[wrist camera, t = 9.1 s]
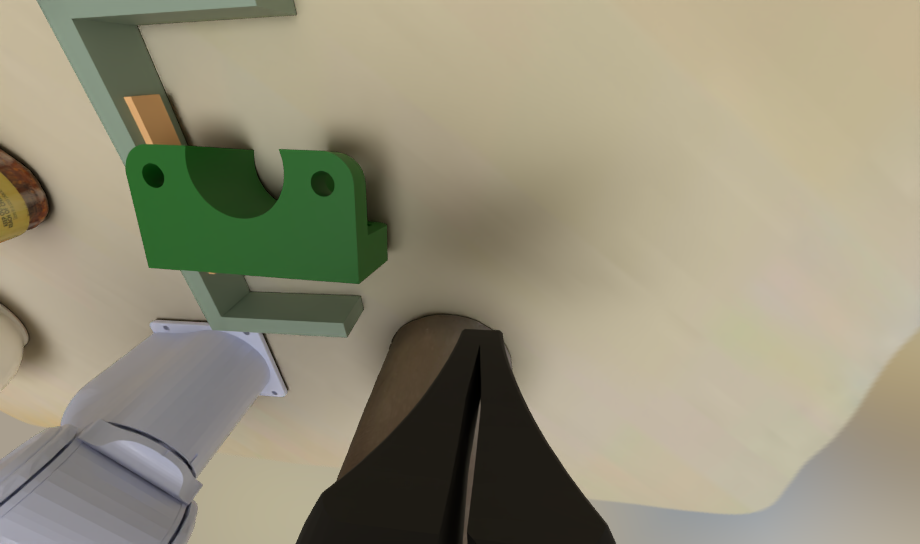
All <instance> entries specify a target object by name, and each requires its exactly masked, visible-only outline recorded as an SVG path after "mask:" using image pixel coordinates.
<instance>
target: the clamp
mask: <svg viewBox="0 0 920 544" xmlns="http://www.w3.org/2000/svg"><path fill="white" fill-rule="evenodd" d="M279 151H280V154H281V157H282V161H283V166H284V183H283V188H282V191H281V194H280V196H279V199H278V200H275V199H274V198H273V197H272V196H270V194H269V193H268V192H267V191H266V190H265V189H264V187H263V186H262V184H261V182H260V181H259V178H258V176H257V173H256V169H255V164H254V150H245V149H230V148H215V147H200V146H184V145H158V144H141V145H138V146H136V147H134V148H133V149H132V150H131V151H130V152H129V154H128V156H127V158H126V164H125V168H126V175H127V179H128V183H129V187H130V191H131V195H132V200H133V204H134V208H135V212H136V216H137V220H138V225H139V229H140V233H141V237H142V241H143V245H144V249H145V254H146V258H147V262H148V266H149V268H159V269H172V270H185V271H198V272H211V273H224V274H237V275H250V276H263V277H276V278H289V279H302V280H315V281H328V282H341V283H354V284H359V283H361V282H362V281H363V280H364V279H365V278H367V277H368V276H369V275H370V274H372V273H373V272H374V271H375V270H376V269H378V268H379V267H380V266H381V265H382V264H384V263H385V262H386V261H387V260H388V254H387V224H385V223H381V222H370V221H367V203H366V181H365V176H364V173H363V171H362V169H361V167H360V166H359V164H358V163H357V162H356V161H355V160H354V159H353V158H351V157H350V156H348V155H346V154H343V153H339V152H329V151H313V150H287V149H279Z"/></svg>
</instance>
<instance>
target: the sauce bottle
mask: <svg viewBox="0 0 920 544" xmlns="http://www.w3.org/2000/svg"><path fill="white" fill-rule="evenodd" d="M48 212H49V207H48V201H47V198H46V194H45V192H44V191H43V189H42V188H41V185H40V183H39V182H38V180H37V179H36V178H35V177H34V175H33V174H32V173H31V171H30V170H29V169H27V168H26V167H25V166H24V165H22V164H21V163H20V162H18V161H17V160H15V159H14V158H13V157H11V156H10V155H8V154H7V153H6V152H4V151H3V150H1V149H0V243H1V242H4V241H6V240H9V239H12V238H14V237H17V236H19V235H21V234H23V233H24V232H25V231H26V230H30V229H32V228H34V227H36V226H37V225H38V224H40V223H41V222H42V221H44V220H45V217H46V216H47V213H48Z"/></svg>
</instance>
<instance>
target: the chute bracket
mask: <svg viewBox="0 0 920 544" xmlns="http://www.w3.org/2000/svg"><path fill="white" fill-rule="evenodd" d="M37 2H38V4H39V6H40V8H41V9H42V11H43V13H44V15H45V17H46V19H47V21H48V23H49V24H50V26H51V28H52V30H53V32H54V34H55V36H56V38H57V39H58V41H59V43H60V45H61V47H62V49H63V51H64V53H65V55H66V56H67V58H68V60H69V62H70V64H71V66H72V68H73V70H74V71H75V73H76V75H77V77H78V79H79V81H80V83H81V85H82V86H83V88H84V90H85V92H86V94H87V96H88V98H89V100H90V102H91V103H92V105H93V107H94V109H95V111H96V113H97V115H98V117H99V118H100V120H101V122H102V124H103V126H104V128H105V130H106V132H107V133H108V135H109V137H110V139H111V141H112V143H113V145H114V147H115V148H116V150H117V152H118V154H119V156H120V158H121V160H122V162H123V164H124V165H125V164H126V158H127V156H128V154H129V152H130V151H131V150H132V149H133V148H134V147H136V146H138V145H141V144H158V145H184V146H188V145H187V143H186V140H185V138H184V135H183V133H182V131H181V128H180V126H179V124H178V121H177V119H176V117H175V114H174V112H173V110H172V107H171V105H170V103H169V100H168V98H167V96H166V93H165V91H164V89H163V86H162V84H161V82H160V79H159V77H158V74H157V72H156V70H155V67H154V65H153V63H152V60H151V58H150V56H149V53H148V51H147V49H146V46H145V44H144V42H143V39H142V37H141V35H140V32H139V30H138V28H137V25H149V24H164V23H180V22H196V21H211V20H227V19H242V18H258V17H273V16H289V15H297V14H296V10H295V6H294V1H293V0H37ZM180 271H181V272H182V274H183V276H184V278H185V280H186V282H187V284H188V286H189V288H190V289H191V291H192V293H193V295H194V297H195V299H196V301H197V303H198V304H199V306H200V308H201V310H202V312H203V314H204V316H205V318H206V319H207V321H208V323H209V325H210V327H211V329H212V330H218V331H236V332H254V333H272V334H290V335H308V336H326V337H344V338H347V337H348V335H349V334H350V332H351V330H352V328H353V327H354V325H355V323H356V322H357V320H358V318H359V317H360V315H361V313H362V311H363V310H364V309H363V305H362V301H361V296H347V295H322V294H297V293H272V292H250V290H249V288H248V286H247V283H246V281H245V279H244V276H243V275H237V274H224V273H211V272H198V271H185V270H180Z"/></svg>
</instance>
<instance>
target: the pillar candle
mask: <svg viewBox="0 0 920 544" xmlns="http://www.w3.org/2000/svg"><path fill="white" fill-rule="evenodd" d="M464 329H478V330H491V329H490V328H488V327H487V326H485V325H483V324H481V323H479V322H477V321H475V320H473V319H470V318H465V317H461V316H457V315H434V316H427V317H423V318H420V319H417V320H414V321H411V322H410V323H407V324H406V325H404V326H403V327H401V328H400V329H399V330H398V332H396V334H395V335H394V337H393V339H392V344H390V347H389V352H388V354H387V356H386V359H385V361H384V364H383V366H382V368H381V371H380V373H379V375H378V377H377V380H376V382H375V385H374V387H373V390H372V393H371V395H370V398H369V400H368V402H367V404H366V407H365V409H364V412H363V414H362V417H361V419H360V422H359V425H358V427H357V430H356V432H355V435H354V437H353V440H352V442H351V445H350V448H349V450H348V453H347V456H346V458H345V460H344V463H343V465H342V468H341V470H340V473H339V475H338V478H337V481H338V480H339V479H340V478H341V477H343V476H344V475H345V474H346V473H348V472H349V471H350V470H351V469H352V468H354V467H355V466H356V465H357V464H358V463H360V462H361V461H362V460H363V459H364V458H365V457H366V456H367V455H368V454H369V453H370V452H371V451H373V450H374V449H375V448H376V447H377V446H378V445H379V444H380V443H381V442H382V441H383V440H384V439H385V438H386V437H387V436H388V435H389V434H390V433H391V432H392V431H393V430H394V429H395V428H396V427H397V426H398V425H399V424H400V423H401V421H402V420H403V419H404V418H405V417H406V416H407V415H408V414H409V412H410V411H411V410H412V409H413V408H414V407H415V405H416V404H417V403H418V402H419V400H420V399H421V398H422V396H423V395H424V394H425V393H426V391H427V390H428V388H429V387H430V386H431V384H432V383H433V381H434V380H435V378H436V377H437V376H438V374H439V373H440V371H441V369H442V368H443V366H444V364H445V363H446V361H447V360H448V358H449V356H450V354H451V353H452V351H453V349H454V347H455V345H456V343H457V341H458V339H459V337H460V334H461V332H462V331H463V330H464ZM504 346H505V350H506V354H507V357H508V361H509V364H510V367H511V369H512V363H511V357H510V354H509V352H508V350H507V347H506V345H505V344H504ZM480 409H481V402H480V404H479V410H478V416H477V422H476V428H475V434H474V440H473V446H472V452H471V458H470V465H469V472H468V483H467V495H466V507H465V520H464V533H463V544H467V526H468V518H469V510H470V502H471V493H472V485H473V476H474V467H475V458H476V449H477V439H478V430H479V419H480Z"/></svg>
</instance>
